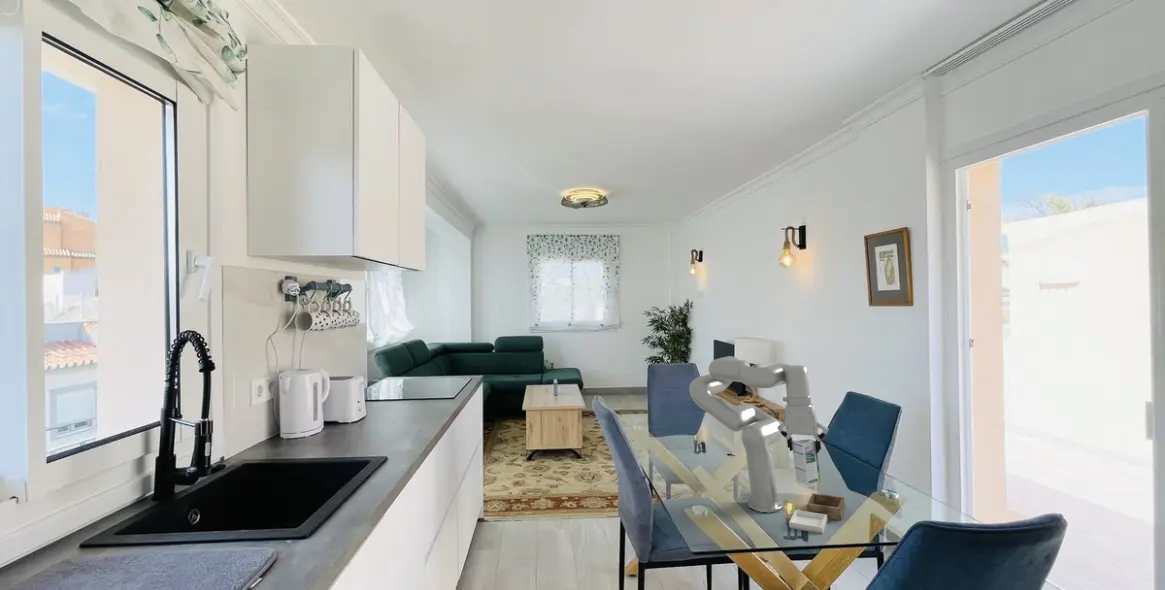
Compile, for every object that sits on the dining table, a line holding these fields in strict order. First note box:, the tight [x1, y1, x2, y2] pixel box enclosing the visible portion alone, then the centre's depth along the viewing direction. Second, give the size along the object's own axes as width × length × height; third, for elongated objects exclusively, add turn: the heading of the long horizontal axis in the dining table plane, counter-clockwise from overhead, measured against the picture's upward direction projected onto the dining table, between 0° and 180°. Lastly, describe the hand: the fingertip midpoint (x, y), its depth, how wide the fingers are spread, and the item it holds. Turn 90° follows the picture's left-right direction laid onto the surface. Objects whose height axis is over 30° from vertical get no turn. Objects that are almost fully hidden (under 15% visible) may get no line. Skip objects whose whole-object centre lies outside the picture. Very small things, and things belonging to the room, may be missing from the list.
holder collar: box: [806, 492, 846, 521], centre depth 173 cm, size 11×11×4 cm
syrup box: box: [792, 437, 822, 487], centre depth 167 cm, size 6×6×14 cm
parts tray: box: [788, 509, 829, 534], centre depth 165 cm, size 10×10×2 cm
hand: (804, 450), depth 168 cm, fingers closed on syrup box, 8 cm apart
